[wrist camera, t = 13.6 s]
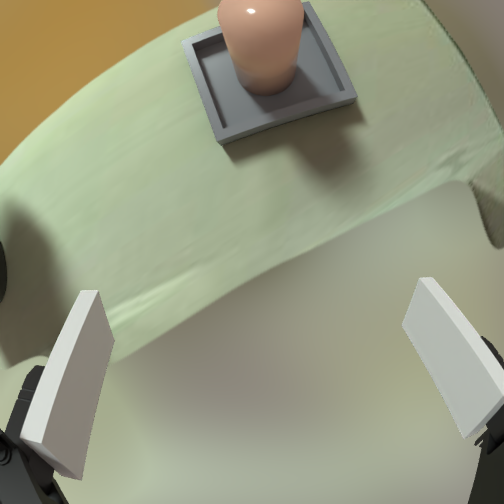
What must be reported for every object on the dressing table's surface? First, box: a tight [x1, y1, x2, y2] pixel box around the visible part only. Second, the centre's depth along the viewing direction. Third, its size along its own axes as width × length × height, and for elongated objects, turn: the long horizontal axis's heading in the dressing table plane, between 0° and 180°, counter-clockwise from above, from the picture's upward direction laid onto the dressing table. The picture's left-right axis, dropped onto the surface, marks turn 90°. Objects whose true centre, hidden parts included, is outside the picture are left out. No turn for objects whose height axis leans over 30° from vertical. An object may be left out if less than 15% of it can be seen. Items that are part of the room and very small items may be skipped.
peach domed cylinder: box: [217, 0, 304, 96], centre depth 24 cm, size 6×6×12 cm
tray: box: [181, 1, 358, 146], centre depth 30 cm, size 15×13×2 cm
